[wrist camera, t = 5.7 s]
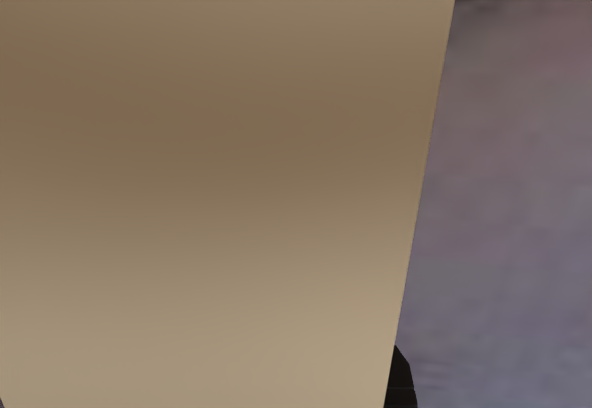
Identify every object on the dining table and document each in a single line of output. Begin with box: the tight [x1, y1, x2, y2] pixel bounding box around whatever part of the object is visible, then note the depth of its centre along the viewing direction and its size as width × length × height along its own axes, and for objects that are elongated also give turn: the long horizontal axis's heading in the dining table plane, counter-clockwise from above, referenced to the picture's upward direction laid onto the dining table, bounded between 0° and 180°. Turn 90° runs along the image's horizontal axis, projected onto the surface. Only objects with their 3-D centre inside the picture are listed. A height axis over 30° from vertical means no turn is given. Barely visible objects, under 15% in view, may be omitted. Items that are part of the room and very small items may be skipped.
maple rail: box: [0, 0, 455, 408], centre depth 11 cm, size 24×4×6 cm, turn 179°
